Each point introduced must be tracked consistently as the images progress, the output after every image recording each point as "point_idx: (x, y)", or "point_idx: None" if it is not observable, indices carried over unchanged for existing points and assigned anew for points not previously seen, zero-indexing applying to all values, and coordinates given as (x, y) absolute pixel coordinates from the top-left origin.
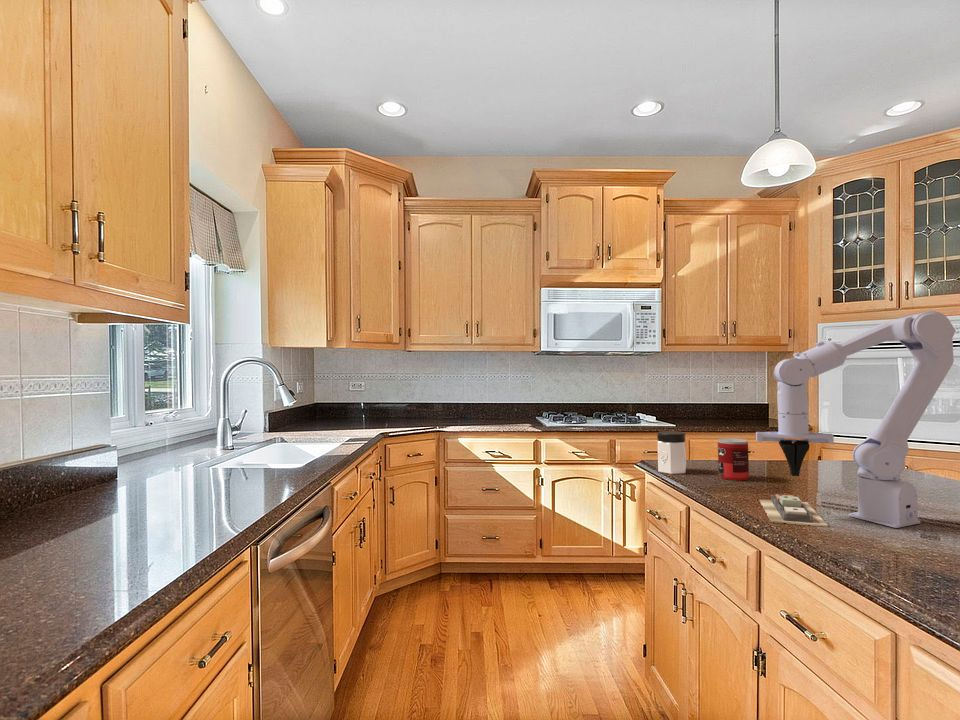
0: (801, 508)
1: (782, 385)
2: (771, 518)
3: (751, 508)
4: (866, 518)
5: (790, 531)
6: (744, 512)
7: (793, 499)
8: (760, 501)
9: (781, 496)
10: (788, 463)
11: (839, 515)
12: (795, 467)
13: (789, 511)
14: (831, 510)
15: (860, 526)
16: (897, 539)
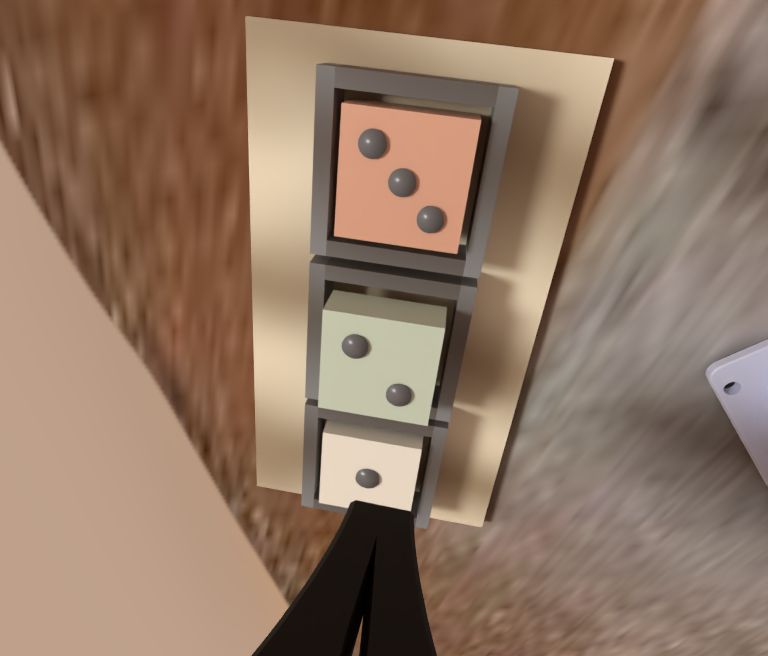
0: (407, 459)
1: None
2: (262, 457)
3: (187, 250)
4: (752, 450)
5: (312, 562)
6: (151, 337)
7: (389, 399)
8: (247, 93)
9: (332, 326)
10: (309, 590)
11: (667, 341)
12: (362, 636)
13: (329, 502)
14: (693, 230)
15: (644, 505)
16: (678, 625)
